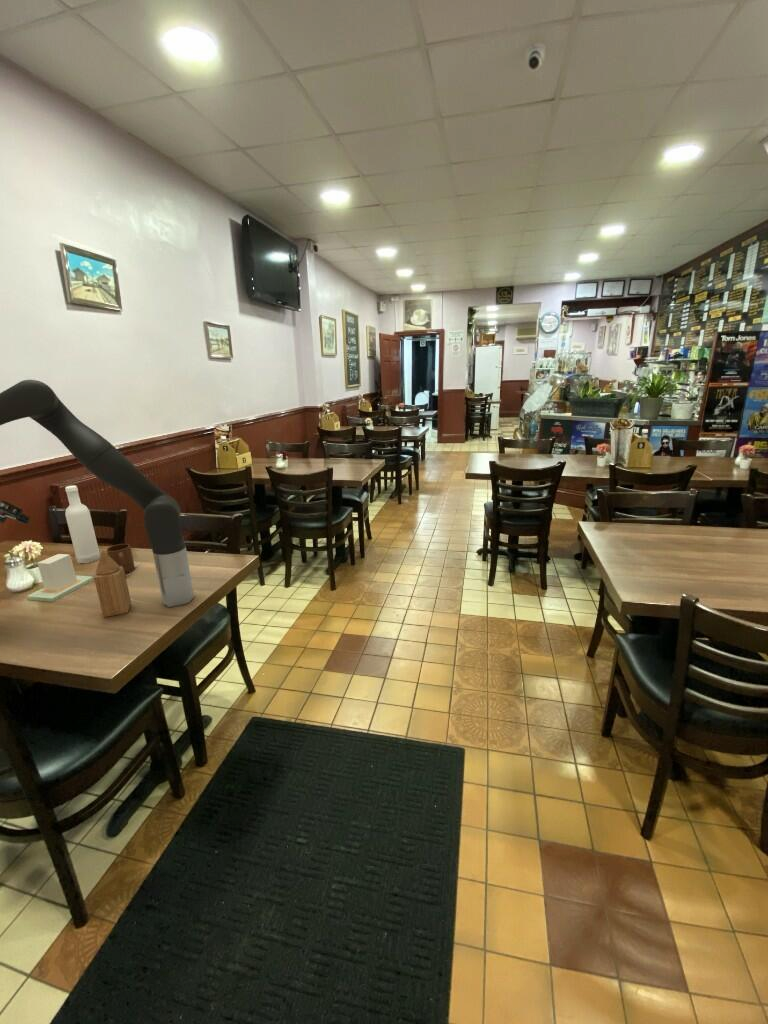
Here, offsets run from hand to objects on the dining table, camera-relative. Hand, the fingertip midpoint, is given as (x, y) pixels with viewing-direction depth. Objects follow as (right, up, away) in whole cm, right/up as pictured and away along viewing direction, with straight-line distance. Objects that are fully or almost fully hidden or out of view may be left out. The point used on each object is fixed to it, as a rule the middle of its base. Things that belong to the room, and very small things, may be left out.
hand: (16, 520), depth 127 cm
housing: (-1, -23, +20) cm, 30 cm away
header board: (-1, -24, +20) cm, 31 cm away
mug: (+13, -20, +32) cm, 40 cm away
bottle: (-9, -17, +44) cm, 48 cm away
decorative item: (+27, -28, +5) cm, 39 cm away
